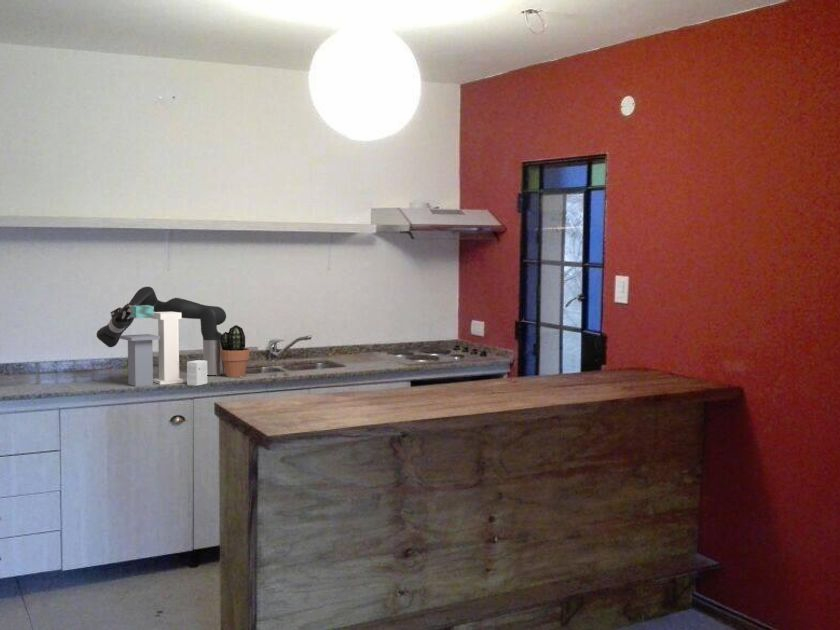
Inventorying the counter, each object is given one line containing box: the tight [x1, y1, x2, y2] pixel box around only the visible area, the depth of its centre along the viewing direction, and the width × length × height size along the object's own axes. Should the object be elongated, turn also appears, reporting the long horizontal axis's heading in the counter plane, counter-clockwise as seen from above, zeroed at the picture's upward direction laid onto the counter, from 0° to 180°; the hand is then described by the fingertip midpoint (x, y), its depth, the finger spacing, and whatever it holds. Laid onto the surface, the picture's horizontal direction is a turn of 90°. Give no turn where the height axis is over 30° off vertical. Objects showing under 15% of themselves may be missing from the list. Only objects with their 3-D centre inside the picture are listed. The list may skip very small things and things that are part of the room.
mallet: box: [123, 304, 154, 319], centre depth 380 cm, size 8×20×5 cm, turn 41°
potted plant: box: [220, 324, 251, 378], centre depth 408 cm, size 14×14×25 cm
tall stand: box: [151, 312, 184, 385], centre depth 387 cm, size 11×10×32 cm
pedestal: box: [119, 333, 160, 387], centre depth 379 cm, size 13×13×22 cm
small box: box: [186, 359, 208, 387], centre depth 382 cm, size 8×6×10 cm
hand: (131, 305), depth 384 cm, fingers closed on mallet, 2 cm apart
